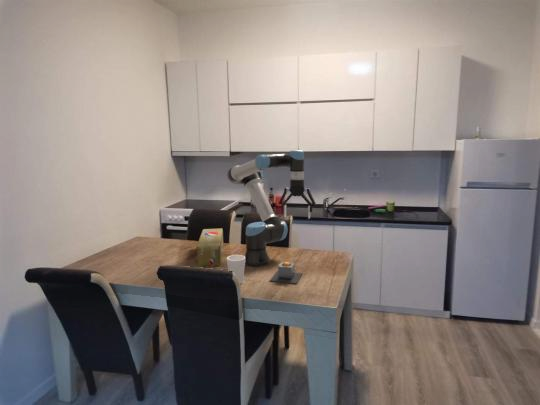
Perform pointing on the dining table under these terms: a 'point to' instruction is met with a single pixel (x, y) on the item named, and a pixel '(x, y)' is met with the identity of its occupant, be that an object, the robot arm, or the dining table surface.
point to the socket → (286, 271)
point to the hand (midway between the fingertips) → (297, 217)
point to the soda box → (210, 248)
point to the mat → (289, 281)
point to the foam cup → (237, 265)
